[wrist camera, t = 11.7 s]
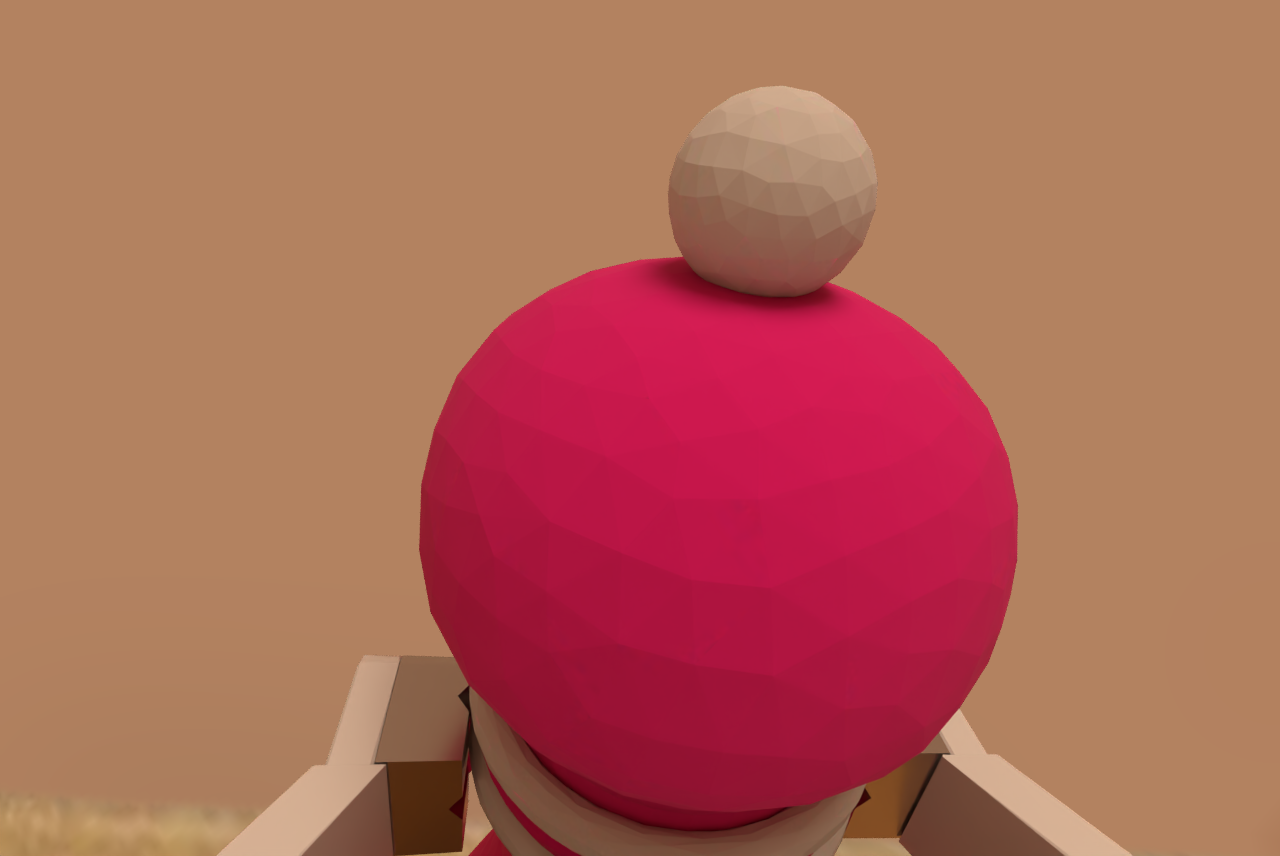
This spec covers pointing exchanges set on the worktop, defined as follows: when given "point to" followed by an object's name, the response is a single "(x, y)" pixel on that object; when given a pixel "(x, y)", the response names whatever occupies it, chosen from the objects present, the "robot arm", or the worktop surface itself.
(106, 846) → the worktop surface
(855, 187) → the pepper mill
